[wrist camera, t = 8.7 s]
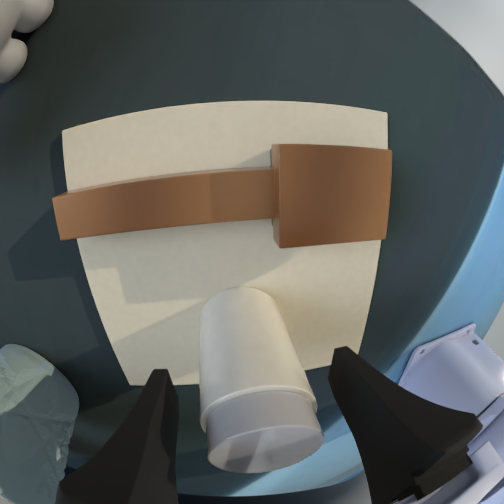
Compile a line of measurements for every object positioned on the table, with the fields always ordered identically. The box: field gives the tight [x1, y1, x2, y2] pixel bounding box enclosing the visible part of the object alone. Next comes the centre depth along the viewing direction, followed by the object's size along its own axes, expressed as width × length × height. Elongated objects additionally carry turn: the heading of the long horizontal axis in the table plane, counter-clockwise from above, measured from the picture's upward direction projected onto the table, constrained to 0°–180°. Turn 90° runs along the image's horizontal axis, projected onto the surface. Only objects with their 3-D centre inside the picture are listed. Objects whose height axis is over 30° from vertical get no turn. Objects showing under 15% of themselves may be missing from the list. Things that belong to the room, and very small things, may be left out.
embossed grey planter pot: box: [0, 344, 79, 504], centre depth 9 cm, size 10×10×12 cm
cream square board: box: [62, 101, 388, 385], centre depth 13 cm, size 16×16×1 cm
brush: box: [52, 144, 392, 249], centre depth 11 cm, size 14×4×2 cm, turn 92°
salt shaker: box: [199, 287, 324, 473], centre depth 11 cm, size 4×4×8 cm
